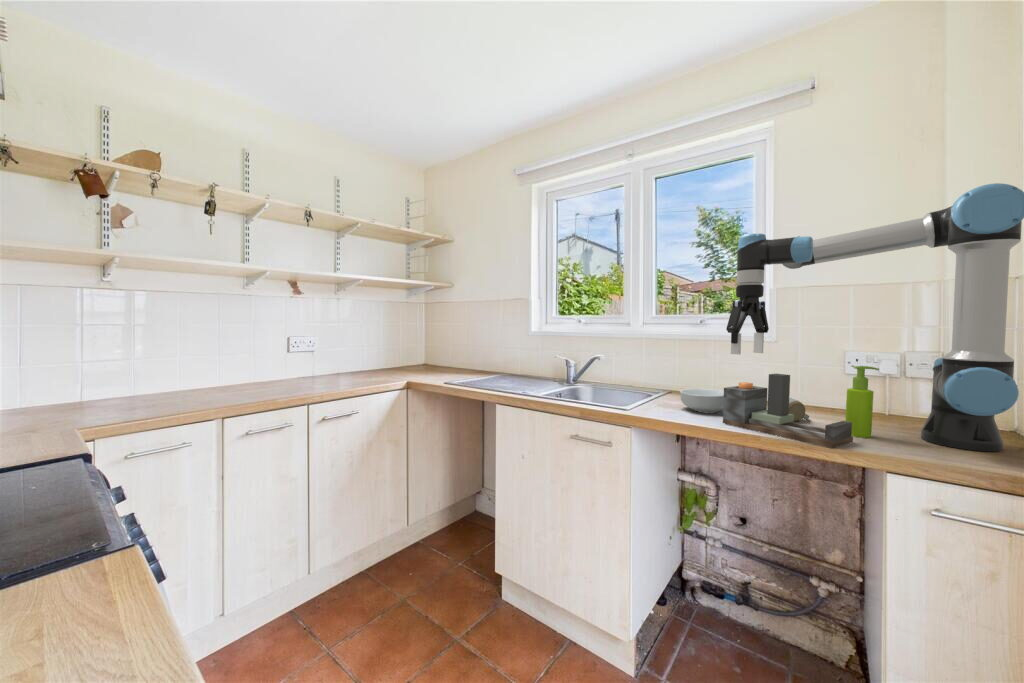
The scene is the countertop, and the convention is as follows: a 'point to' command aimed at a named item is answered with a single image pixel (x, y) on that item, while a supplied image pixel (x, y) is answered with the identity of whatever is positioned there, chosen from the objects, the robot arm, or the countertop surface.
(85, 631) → the countertop surface
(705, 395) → the cereal bowl
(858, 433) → the soap dispenser
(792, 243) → the robot arm
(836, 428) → the rail track
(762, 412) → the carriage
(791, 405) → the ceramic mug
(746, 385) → the button
